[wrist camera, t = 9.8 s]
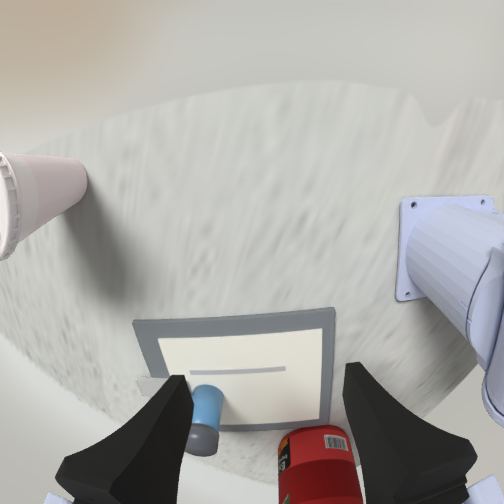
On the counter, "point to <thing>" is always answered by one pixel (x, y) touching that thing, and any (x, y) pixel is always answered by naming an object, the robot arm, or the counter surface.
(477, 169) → the counter surface
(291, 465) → the canned food
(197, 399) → the marker
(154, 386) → the clipboard
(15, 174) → the smoothie
